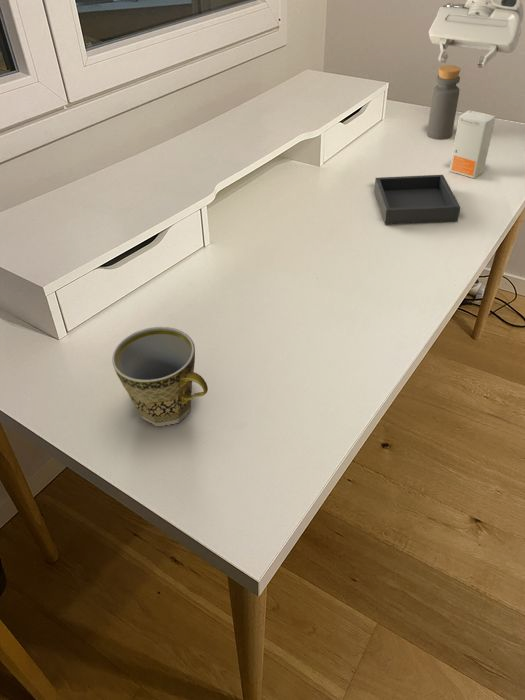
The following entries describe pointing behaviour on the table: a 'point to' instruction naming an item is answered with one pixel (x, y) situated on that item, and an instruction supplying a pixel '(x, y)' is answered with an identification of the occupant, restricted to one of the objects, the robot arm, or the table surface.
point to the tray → (416, 200)
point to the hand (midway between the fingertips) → (460, 63)
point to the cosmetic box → (472, 143)
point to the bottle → (444, 103)
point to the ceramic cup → (158, 373)
